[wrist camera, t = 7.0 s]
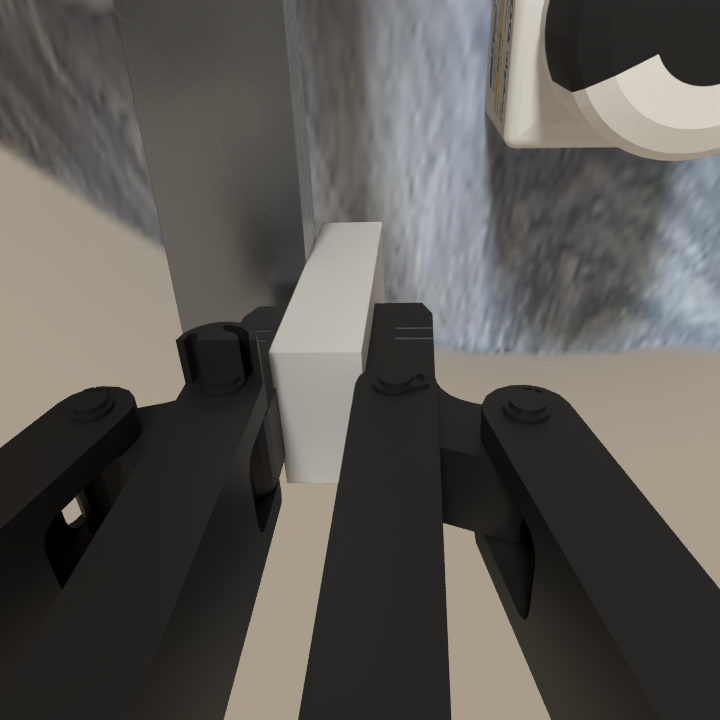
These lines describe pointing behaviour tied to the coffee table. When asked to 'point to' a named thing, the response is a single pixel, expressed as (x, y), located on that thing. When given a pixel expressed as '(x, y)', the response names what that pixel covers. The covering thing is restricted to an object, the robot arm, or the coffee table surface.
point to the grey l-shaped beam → (223, 148)
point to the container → (607, 75)
